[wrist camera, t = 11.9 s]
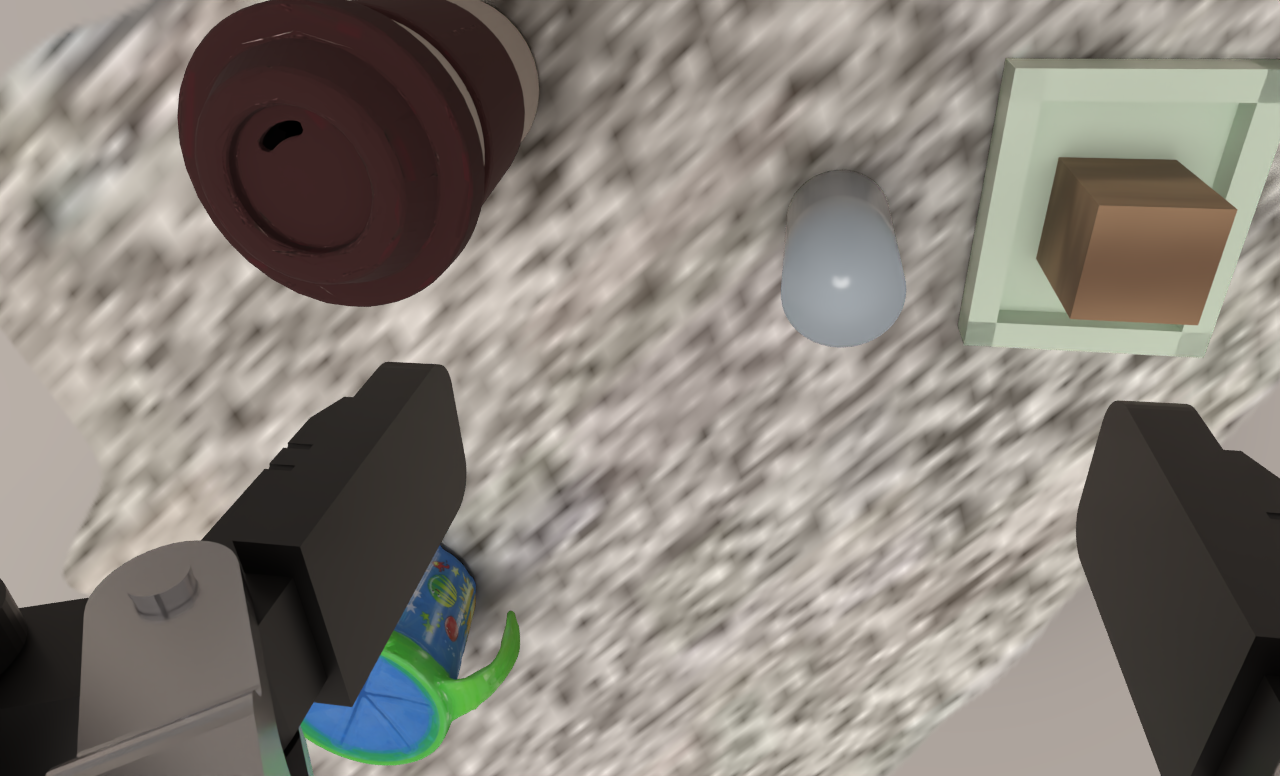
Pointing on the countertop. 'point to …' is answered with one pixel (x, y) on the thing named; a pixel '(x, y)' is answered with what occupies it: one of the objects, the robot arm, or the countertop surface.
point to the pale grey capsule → (841, 261)
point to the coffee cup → (354, 137)
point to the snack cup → (416, 676)
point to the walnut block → (1132, 240)
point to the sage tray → (1110, 128)
